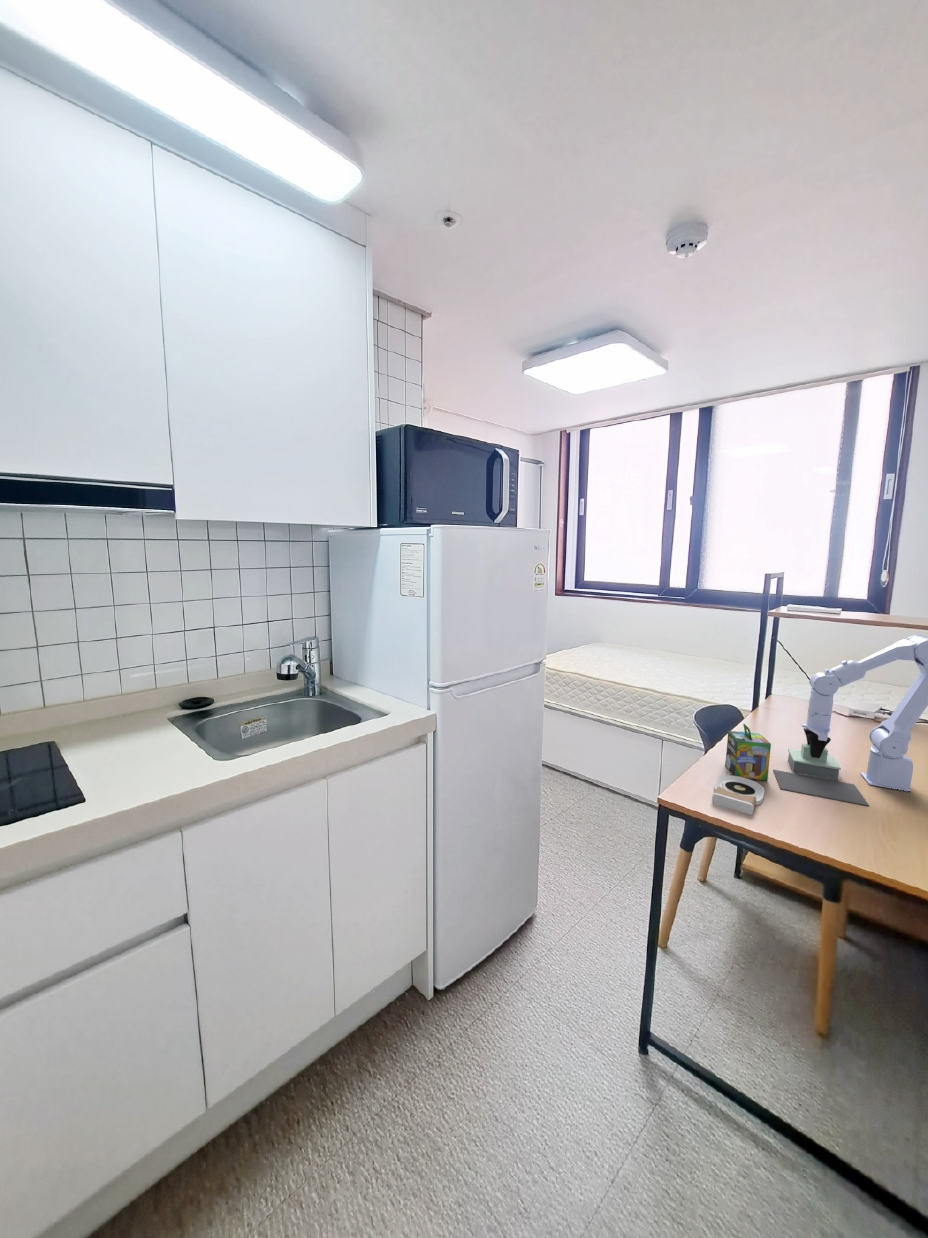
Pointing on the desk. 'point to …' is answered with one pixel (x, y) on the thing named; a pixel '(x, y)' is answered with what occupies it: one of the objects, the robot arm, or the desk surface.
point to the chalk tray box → (813, 770)
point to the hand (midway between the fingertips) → (813, 755)
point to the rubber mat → (819, 787)
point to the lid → (806, 758)
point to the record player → (737, 793)
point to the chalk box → (748, 755)
